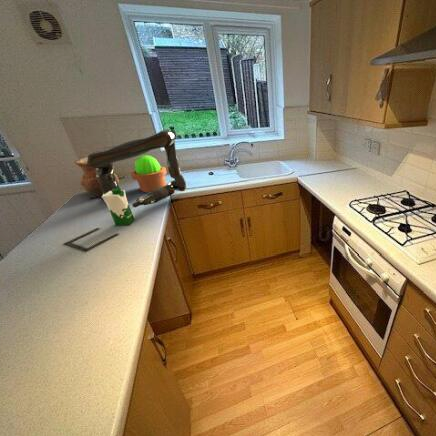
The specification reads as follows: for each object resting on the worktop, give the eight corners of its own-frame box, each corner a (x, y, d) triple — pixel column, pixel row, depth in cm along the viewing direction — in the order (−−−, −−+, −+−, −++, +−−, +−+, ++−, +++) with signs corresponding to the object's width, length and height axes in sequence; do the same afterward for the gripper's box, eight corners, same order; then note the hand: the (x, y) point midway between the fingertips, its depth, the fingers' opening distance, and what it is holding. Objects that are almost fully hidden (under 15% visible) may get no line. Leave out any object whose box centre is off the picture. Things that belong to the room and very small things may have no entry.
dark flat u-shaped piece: (64, 244, 117) (64, 243, 116) (97, 228, 129) (97, 228, 129) (85, 251, 111) (85, 251, 110) (118, 234, 123) (117, 234, 123)
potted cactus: (174, 182, 191) (165, 150, 179) (162, 192, 172) (151, 158, 160) (146, 183, 191) (136, 151, 178) (131, 194, 171) (118, 159, 159)
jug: (87, 200, 162) (70, 164, 150) (85, 192, 176) (69, 158, 164) (125, 192, 175) (111, 158, 163) (119, 184, 189) (107, 153, 177)
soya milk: (129, 226, 130) (115, 192, 121) (112, 227, 130) (97, 193, 120) (137, 218, 138) (125, 185, 129) (121, 219, 138) (107, 186, 128)
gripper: (149, 187, 151) (122, 198, 137) (164, 190, 146) (139, 201, 132) (152, 198, 155) (127, 210, 141) (167, 201, 150) (143, 213, 136)
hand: (133, 205), depth 137 cm, fingers closed
